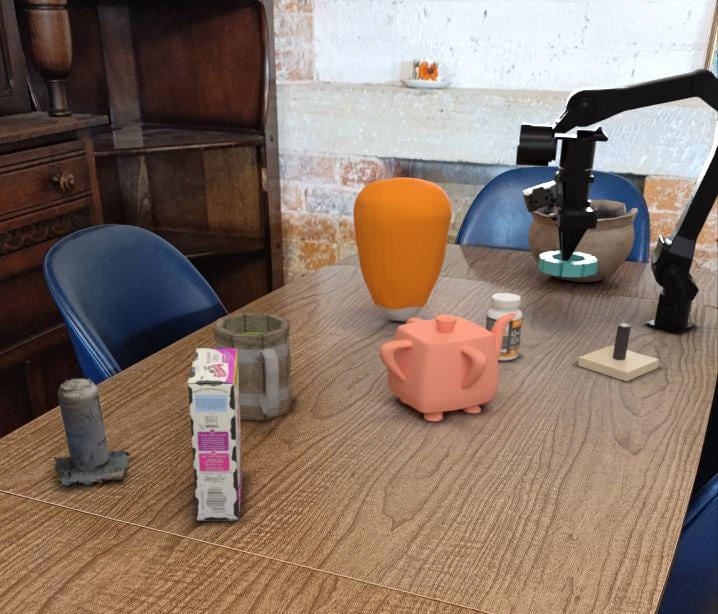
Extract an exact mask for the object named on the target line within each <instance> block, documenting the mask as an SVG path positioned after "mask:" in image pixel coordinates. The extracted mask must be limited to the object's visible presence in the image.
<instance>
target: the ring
mask: <svg viewBox="0 0 718 614" xmlns="http://www.w3.org/2000/svg"><path fill="white" fill-rule="evenodd" d="M597 264H598V260H597V259H596V257H595V256H592V255H590V254H586V253H581V252H573V254H572V256H571V257H570V259H569V260H568V261H563V259H562V251H555V252H554V251H549V252H545V253H541V254H540V255H539V261H538V263H537V268H538V270H539V272H542V274H547V275H549V274H550V275H549V276H551V275H554V276H560V275H561V276H562V277H580V276H582V277H586V276H590V275H593V274H595V273H596V271H597Z"/></svg>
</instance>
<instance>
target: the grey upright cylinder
mask: <svg viewBox="0 0 718 614" xmlns="http://www.w3.org/2000/svg"><path fill="white" fill-rule="evenodd" d="M57 398H58V403H59V409H60V413H61V417H62V424H63V427H64V432H65V437H66V442H67V447H68V453H69V455H68V456H65V457H64V456H63V457H62V456H61V457H60V456H59V457H56V456H53V459H54V462H55V464H54V469H56V470H57V471H58V474H59V475H58V477H59V479H60V482H61V483H62V486H63V487H64V486H65V487H66V488H68V487H69V486H70V485H73V484H77V483H78V485H80V484H84V485H85V486H92V485H93V484H95V483H99V484H101V483H103V482H106V481H110V480H114V481H119V480H120V481H121V480H124V476H125V474H126V470H127V469H129V464H130V463H129V462H130V459H131V457H130V456H131V454H130V453H129V451H125V450H123V449H121V450H120V449H119V450H112V451H110V450H109V446H108V439H107V435H106V429H105V423H104V417H103V412H102V406H101V401H100V395H99V389H98V387H97V385H96V384H95V383H94V382H93V381H92V379H91V378H87V379H86V378H83V377H81V378H71V379H66V380H65V381H64V382H63V383H61V384H60V385H59V389H58V391H57Z"/></svg>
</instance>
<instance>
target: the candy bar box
mask: <svg viewBox="0 0 718 614" xmlns="http://www.w3.org/2000/svg"><path fill="white" fill-rule="evenodd" d="M191 363H192V364H191V368H190V372H189V376H188V379H187V390H188V391H187V392H188V406H189V407H188V408H189V420H190V435H191V436H190V437H191V450H192V465H193V467H192V468H193V481H194V493H195V495H194V496H195V510H196V521H198V522H216V521H217V522H231V521H239V520H240V514H241V501H242V489H243V488H242V487H243V451H242V426H241V425H242V424H241V423H242V422H241V419H240V396H239V371H238V349H237V348H216V347H202V348H201V347H200V348H199V347H198V348H196V349H195V352H194V356H193V360H192V362H191Z"/></svg>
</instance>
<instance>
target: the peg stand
mask: <svg viewBox="0 0 718 614" xmlns="http://www.w3.org/2000/svg"><path fill="white" fill-rule="evenodd" d="M631 328H632V325H631V324H629V323H625V322H621V323H617V326H616V334H615V340H614V345H612V344H611V345H610V344H609V345H607V346H605V347H602V348H600V349H597V350H593V351H592V352H589V353H586V354H583V355H581V356H579V357H578V361H577V362H578V363H577V367H581V368H583V369H587V370H590V371H592V372H596V373H599V374H602V375H605V376H608V377H612V378H614V379H618V380H620V381H624V382H629V381H630V380H633V379H635V378H637V377H640V376H642V375H645V374H647V373H649V372H651V371H655V370H657V369H658V368H659V367H658V366H659V362H660V359H659V358H655V357H652V356H648V355H645V354H642V353H639V352H635V351H633V350H628V346H629V341H630V335H631V330H632V329H631Z"/></svg>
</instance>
